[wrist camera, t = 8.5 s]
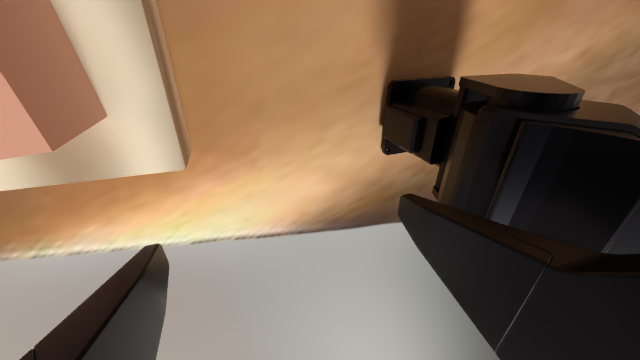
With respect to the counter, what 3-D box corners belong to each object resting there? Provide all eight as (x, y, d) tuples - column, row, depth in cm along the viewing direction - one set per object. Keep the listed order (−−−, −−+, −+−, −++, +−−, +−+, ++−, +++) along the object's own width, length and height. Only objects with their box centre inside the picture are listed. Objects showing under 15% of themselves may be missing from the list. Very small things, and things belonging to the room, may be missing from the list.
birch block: (146, -47, 14) (120, -76, 10) (192, 146, 19) (185, 169, 15) (-162, -80, 10) (-344, -136, 7) (-3, 164, 16) (-64, 198, 12)
